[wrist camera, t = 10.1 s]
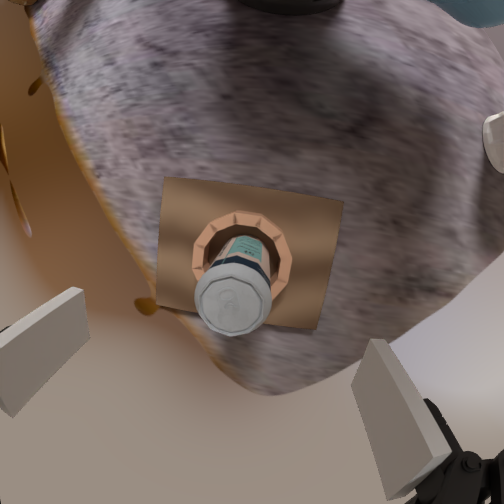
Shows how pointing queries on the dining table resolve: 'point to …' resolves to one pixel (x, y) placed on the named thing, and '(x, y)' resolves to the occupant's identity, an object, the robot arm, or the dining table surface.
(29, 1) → the bread
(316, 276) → the board
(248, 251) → the lidded canister
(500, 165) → the cup
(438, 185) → the dining table surface
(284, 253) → the ring
